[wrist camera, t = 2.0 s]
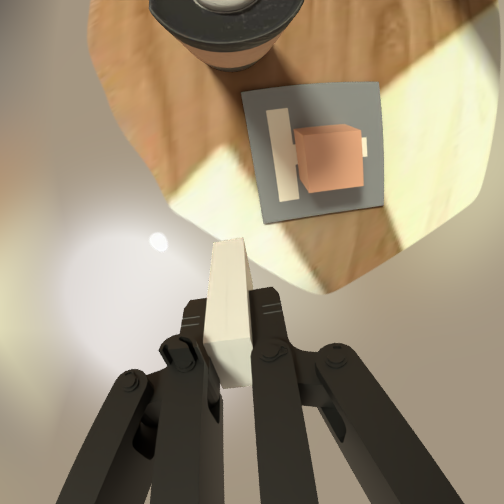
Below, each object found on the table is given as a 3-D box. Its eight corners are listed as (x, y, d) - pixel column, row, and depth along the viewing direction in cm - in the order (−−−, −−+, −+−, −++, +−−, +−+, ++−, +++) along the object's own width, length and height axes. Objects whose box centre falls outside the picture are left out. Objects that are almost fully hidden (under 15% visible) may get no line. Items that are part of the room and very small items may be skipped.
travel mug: (281, 42, 26) (343, -16, 9) (233, 87, 28) (229, 80, 11) (230, 1, 23) (224, -95, 6) (181, 47, 26) (111, -3, 8)
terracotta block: (344, 123, 30) (361, 130, 26) (347, 172, 33) (363, 185, 29) (293, 128, 31) (303, 135, 26) (299, 178, 34) (309, 193, 29)
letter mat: (376, 81, 28) (378, 81, 28) (381, 203, 36) (383, 205, 36) (240, 92, 29) (240, 92, 28) (263, 221, 37) (263, 223, 36)
